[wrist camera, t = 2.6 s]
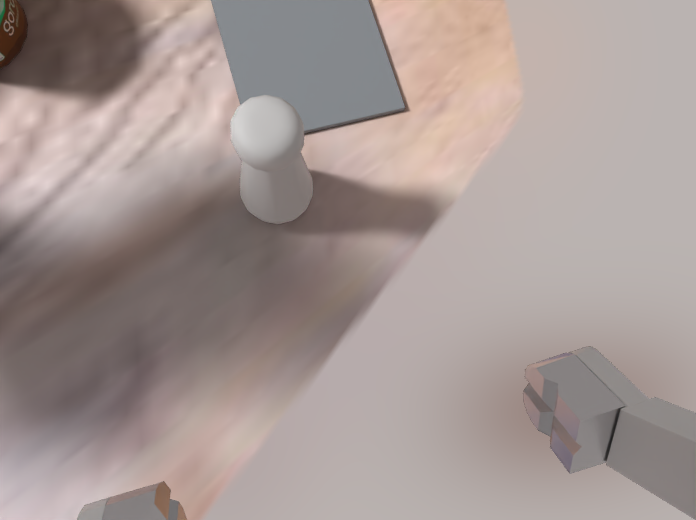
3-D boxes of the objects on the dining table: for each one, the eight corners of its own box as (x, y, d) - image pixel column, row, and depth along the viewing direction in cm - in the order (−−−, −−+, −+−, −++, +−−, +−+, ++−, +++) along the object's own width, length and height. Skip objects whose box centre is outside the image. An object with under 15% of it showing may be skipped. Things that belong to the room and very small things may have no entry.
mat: (403, 110, 40) (405, 107, 40) (251, 145, 38) (251, 143, 38) (341, -73, 43) (341, -78, 43) (197, -50, 41) (195, -54, 41)
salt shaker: (229, 203, 37) (190, 130, 24) (270, 152, 38) (254, 57, 25) (286, 244, 37) (276, 191, 24) (326, 191, 38) (337, 114, 25)
